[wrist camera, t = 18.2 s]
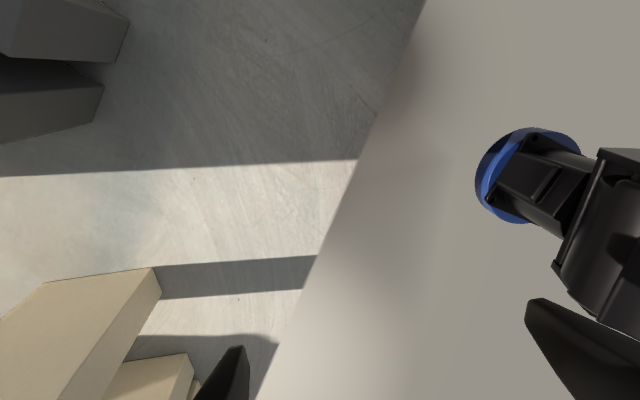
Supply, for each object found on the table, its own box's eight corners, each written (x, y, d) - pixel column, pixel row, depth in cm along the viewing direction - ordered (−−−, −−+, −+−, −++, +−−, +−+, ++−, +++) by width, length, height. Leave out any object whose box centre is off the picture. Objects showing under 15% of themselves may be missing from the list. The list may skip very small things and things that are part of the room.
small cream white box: (152, 266, 23) (56, 399, 13) (162, 293, 24) (80, 433, 14) (43, 282, 22) (-131, 429, 13) (58, 308, 23) (-93, 462, 14)
